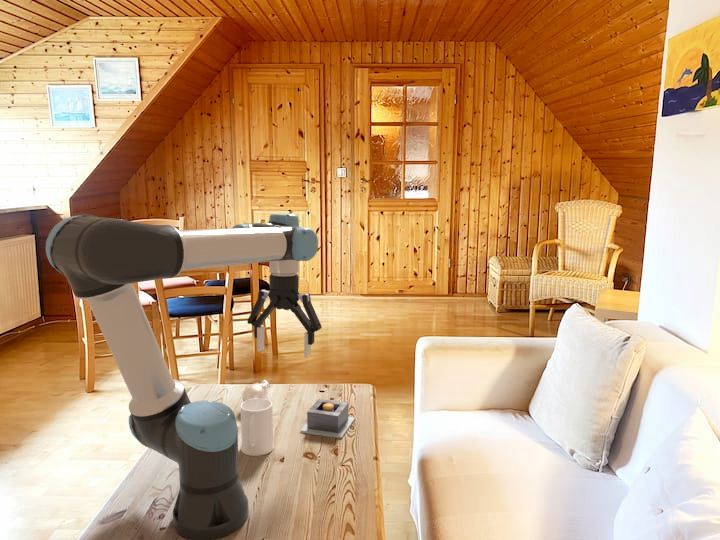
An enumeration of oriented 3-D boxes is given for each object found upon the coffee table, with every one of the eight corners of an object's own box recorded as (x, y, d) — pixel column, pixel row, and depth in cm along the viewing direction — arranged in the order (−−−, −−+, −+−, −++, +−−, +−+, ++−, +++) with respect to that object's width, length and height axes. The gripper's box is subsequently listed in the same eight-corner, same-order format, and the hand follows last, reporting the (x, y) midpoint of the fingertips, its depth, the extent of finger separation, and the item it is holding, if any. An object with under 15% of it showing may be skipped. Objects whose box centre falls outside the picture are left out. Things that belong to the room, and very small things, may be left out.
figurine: (267, 369, 176) (255, 377, 161) (283, 386, 175) (272, 396, 160) (244, 391, 176) (230, 402, 161) (259, 408, 176) (247, 420, 161)
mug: (263, 464, 134) (261, 418, 131) (230, 461, 135) (228, 415, 133) (278, 441, 145) (277, 399, 143) (248, 438, 146) (246, 396, 144)
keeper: (341, 438, 147) (341, 417, 145) (300, 432, 150) (300, 411, 149) (355, 419, 158) (355, 399, 157) (316, 414, 161) (316, 394, 160)
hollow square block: (338, 433, 148) (338, 416, 147) (307, 428, 151) (307, 411, 150) (348, 419, 157) (348, 402, 156) (319, 415, 159) (318, 398, 158)
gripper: (334, 275, 140) (333, 354, 144) (248, 268, 148) (249, 344, 151) (323, 279, 133) (322, 363, 137) (233, 272, 141) (234, 351, 144)
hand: (283, 353), depth 144 cm, fingers open, 13 cm apart
